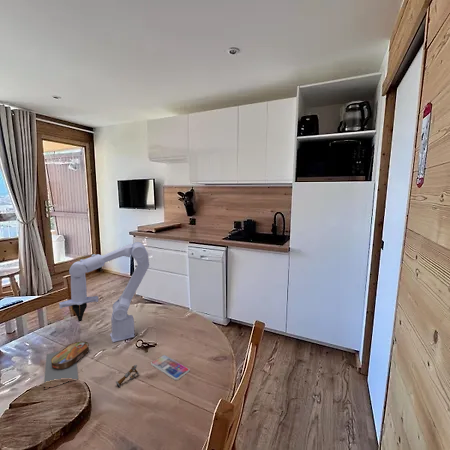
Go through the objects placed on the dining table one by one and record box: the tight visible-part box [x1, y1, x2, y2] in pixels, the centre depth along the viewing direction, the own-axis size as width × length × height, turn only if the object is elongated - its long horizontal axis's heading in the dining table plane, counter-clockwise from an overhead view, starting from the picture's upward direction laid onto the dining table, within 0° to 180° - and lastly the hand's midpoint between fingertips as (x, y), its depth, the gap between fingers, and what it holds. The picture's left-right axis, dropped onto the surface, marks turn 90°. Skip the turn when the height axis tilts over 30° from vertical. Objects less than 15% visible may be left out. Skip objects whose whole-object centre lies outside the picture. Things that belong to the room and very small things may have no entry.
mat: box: [43, 350, 79, 383], centre depth 98 cm, size 10×22×1 cm, turn 32°
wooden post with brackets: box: [115, 364, 140, 388], centre depth 91 cm, size 2×8×4 cm, turn 139°
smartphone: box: [150, 354, 191, 381], centre depth 99 cm, size 7×1×15 cm
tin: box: [51, 340, 90, 369], centre depth 102 cm, size 15×3×8 cm
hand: (80, 320), depth 112 cm, fingers closed
